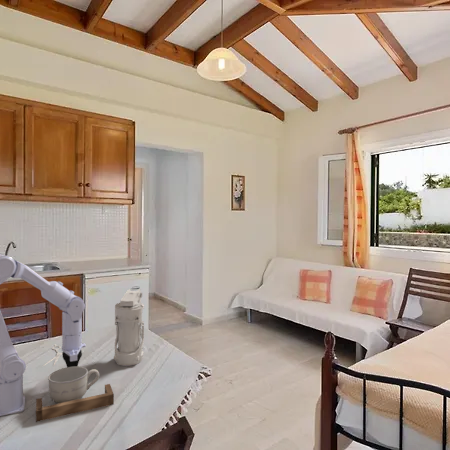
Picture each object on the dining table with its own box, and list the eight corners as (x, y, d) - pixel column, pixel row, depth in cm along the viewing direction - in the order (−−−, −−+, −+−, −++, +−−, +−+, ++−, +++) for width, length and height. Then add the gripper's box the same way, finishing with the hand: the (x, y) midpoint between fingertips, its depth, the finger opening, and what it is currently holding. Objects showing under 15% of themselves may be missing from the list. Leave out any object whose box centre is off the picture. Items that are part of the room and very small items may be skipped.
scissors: (81, 344, 145) (62, 365, 125) (81, 345, 145) (62, 368, 126) (54, 344, 145) (31, 366, 125) (54, 346, 145) (31, 368, 125)
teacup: (44, 411, 99) (44, 384, 98) (52, 391, 109) (52, 366, 109) (97, 405, 103) (97, 378, 102) (100, 386, 113) (100, 362, 113)
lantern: (139, 366, 127) (140, 298, 126) (110, 366, 127) (111, 297, 126) (147, 351, 140) (148, 289, 139) (121, 351, 140) (121, 288, 139)
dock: (36, 422, 94) (35, 411, 94) (36, 409, 100) (36, 398, 100) (113, 404, 103) (113, 394, 103) (109, 393, 109) (109, 383, 109)
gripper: (87, 338, 108) (87, 381, 109) (83, 323, 121) (83, 362, 122) (62, 342, 105) (62, 386, 106) (60, 326, 118) (60, 366, 119)
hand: (72, 374), depth 114 cm, fingers closed
